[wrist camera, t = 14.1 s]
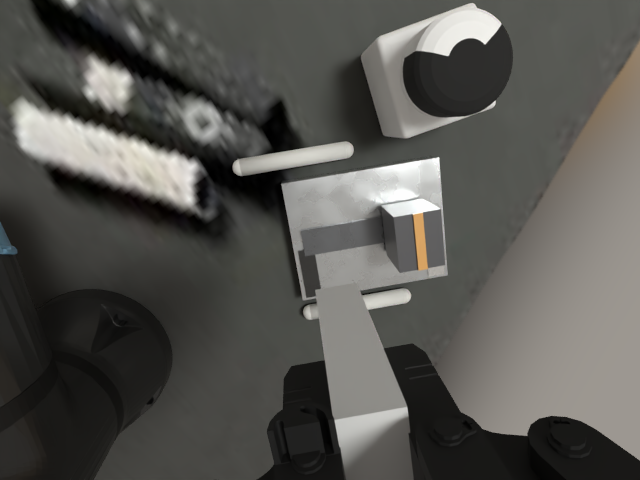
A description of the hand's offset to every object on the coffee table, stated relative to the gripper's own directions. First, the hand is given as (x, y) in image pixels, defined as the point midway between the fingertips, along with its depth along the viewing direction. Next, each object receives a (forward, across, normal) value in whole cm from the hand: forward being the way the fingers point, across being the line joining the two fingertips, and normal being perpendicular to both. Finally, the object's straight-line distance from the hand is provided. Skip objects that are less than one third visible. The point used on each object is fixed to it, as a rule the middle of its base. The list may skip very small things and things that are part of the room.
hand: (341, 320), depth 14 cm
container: (+27, +11, +9) cm, 30 cm away
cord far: (+26, +3, -12) cm, 29 cm away
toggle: (+24, +8, -4) cm, 26 cm away
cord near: (+26, -1, +4) cm, 27 cm away
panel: (+26, +5, -4) cm, 27 cm away
